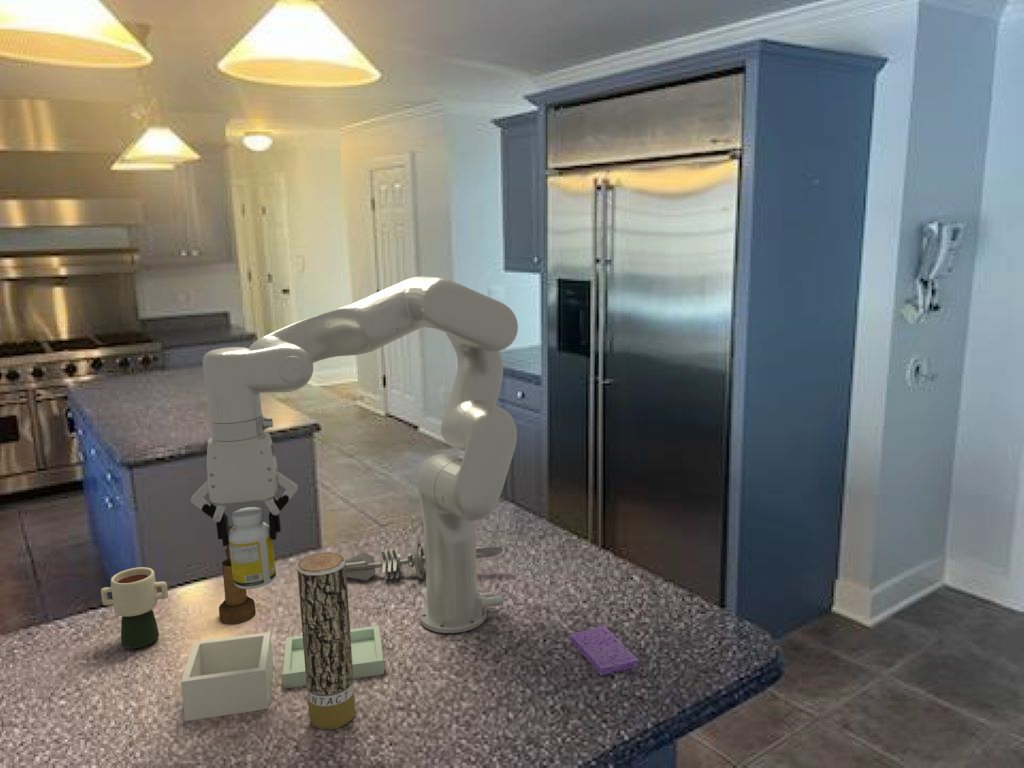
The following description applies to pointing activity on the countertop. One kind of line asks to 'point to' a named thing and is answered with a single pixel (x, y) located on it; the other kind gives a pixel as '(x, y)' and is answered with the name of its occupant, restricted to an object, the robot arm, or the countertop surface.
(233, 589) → the mortar and pestle
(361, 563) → the spaceship
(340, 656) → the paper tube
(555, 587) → the countertop surface
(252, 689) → the cream square frame
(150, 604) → the character mug
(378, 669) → the tray
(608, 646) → the sponges
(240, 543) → the pill bottle
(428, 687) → the countertop surface
